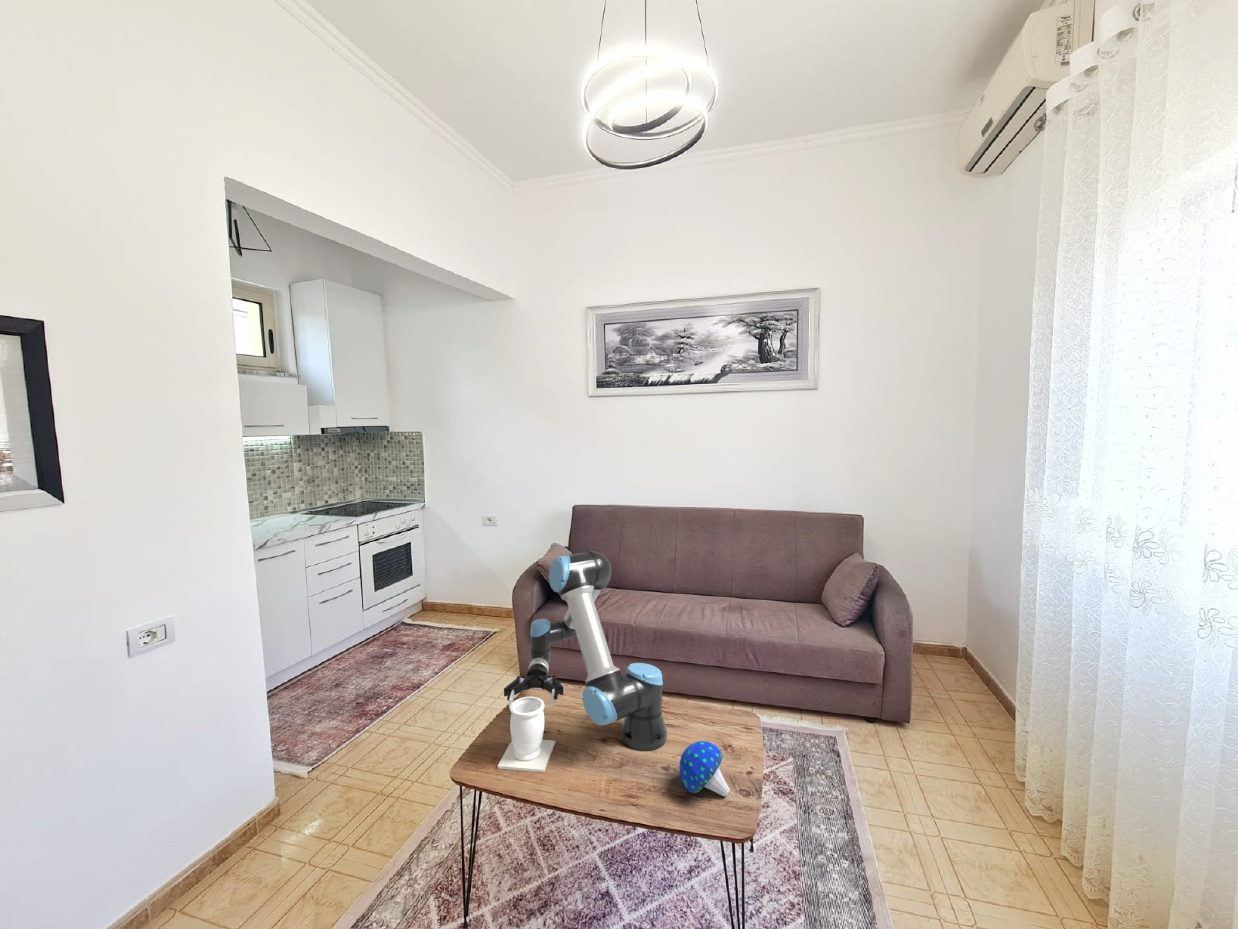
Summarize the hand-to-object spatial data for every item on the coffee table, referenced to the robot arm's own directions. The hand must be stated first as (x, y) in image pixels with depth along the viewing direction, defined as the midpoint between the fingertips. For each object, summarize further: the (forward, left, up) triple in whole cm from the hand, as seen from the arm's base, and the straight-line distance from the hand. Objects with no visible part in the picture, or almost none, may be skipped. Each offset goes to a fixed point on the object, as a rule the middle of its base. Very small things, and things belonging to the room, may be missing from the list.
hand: (531, 703), depth 160 cm
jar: (-2, +10, -10) cm, 14 cm away
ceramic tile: (-2, +10, -11) cm, 15 cm away
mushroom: (-55, +18, -11) cm, 59 cm away
